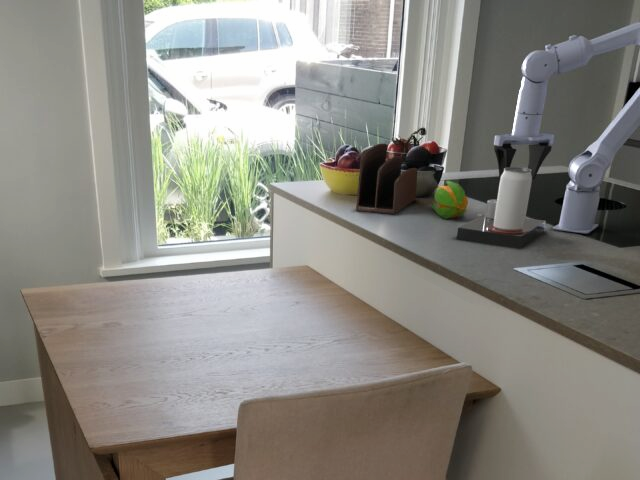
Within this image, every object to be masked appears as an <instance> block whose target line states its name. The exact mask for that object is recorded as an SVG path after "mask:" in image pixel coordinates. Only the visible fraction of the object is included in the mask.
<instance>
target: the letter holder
mask: <svg viewBox="0 0 640 480" xmlns="http://www.w3.org/2000/svg"><path fill="white" fill-rule="evenodd" d="M387 152H388V144H387V143H377V144H374V145H373V146H371V147H369V148H368V149H366V150H365V151H364V152H363V153H361V156H360V162H359V163H360V165H359V174H358V182H357V183H358V185H357V195H356V204H355V210H356V212H364V213H365V212H368V213H375V214H385V215H395V214H396V213H398V212H400V211H401V210H402V209H403V208H405V207H407V206H408V205H410V204H411V203H413V202H414V201H416V199H417V187H418V186H417V185H418V184H417V183H418V168H417V167H411V168H407V169H406V170H405V171H403V172H402V167H403V158H402V157H401V156H394V157H391V158H389V159H387V154H388V153H387Z"/></svg>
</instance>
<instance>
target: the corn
mask: <svg viewBox="0 0 640 480" xmlns="http://www.w3.org/2000/svg"><path fill="white" fill-rule="evenodd" d="M445 183H446V184H447V185H440V186H439V187H437V189H436V191H435V193H434V201H436V204H437V205H436V204H435V203H433V201H430V204H431V207H432V208H433V210H434V211H435V212H436V213H437V214H438V215H439V216H440V217H441V218H443V219H445V220H446V219H449V218H454V219H457V218H459V217H461V216H463V215H464V214H465V213H466V212H467V207H468V206H469V201H468V197H467V195H466V194H465V193H466V191H465V190H464V189H463V187H462V186H461V185H460V184H459V183H457V182H455V181H451V180H446V181H445Z"/></svg>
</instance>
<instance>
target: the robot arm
mask: <svg viewBox="0 0 640 480" xmlns="http://www.w3.org/2000/svg"><path fill="white" fill-rule="evenodd" d="M631 45H635V46H640V21H639V22H635V23H631V24H629V25H627V26H624V27H621V28H618V29H616V30H614V31H610V32H607V33H605V34H603V35H600V36H597V37H595V38H592V39H588V38H587V37H585V36H583V35H580V36H577V34H573V35H570V36H569V37H568V40H565V41H562V42H559V43H557V44H554V45H552V44H550V43H549V44H547V45H545V50H543V49H542V50H540V49H538V50H534V51H531V52H530V53H528V55H526V57H525V58H524V60H523V63H521V65H520V66H521V68H520V69H521V73H522V79H521V82H520V89H519V91H518V97H517V104H516V108H515V115H514V119H513V126H512V130H511V133H508V134H507V133H506V134H505V133H504V134H496V135H494V140H493V150H494V153H495V156H496V160H497V166H498V179H499V180H500V179H501V175H502V174H503V172H504V168H507V167H512V166H511V165H512V163H513V159H514V157H515V155H516V152H517V148H513V146H525V145H526V146H527V145H528V165H527V168H528V169H531V176H532V180H535V179H536V177H537V175H538V172H539V170H540V168H541V166H542V164H543V162H544V161H545V159H546V158H547V156H548V155H549V154H550V153H551V151H552V147H553V146H552V145H553V144H554V138H555V134H550V133H540V131H541V130H540V129H541V124H542V120H543V114H544V109H545V105H546V100H547V99H546V98H547V93H548V90H547V89H548V84H549V80H550V78H551V77H552V75H553V76H559V75H561V74H565V73H567V72H570V71H573V70H577V69H579V68H582V67H585V66H587V65H588V63H589V62H590V60H591V58H592V57H594V56H598V55H602V54H603V53H604V54H605V53H608V52H611V51H614V50H618V49H621V48H624V47H628V46H631ZM639 126H640V87H639V88H638V89H637V90H636V91H635V92H634V94H633V95H632V96H631V98H630V99H629V100H628V101H627V102H626V104H625V105H624V106H623V108H622V109H621V110H620V111H619V112H618V114H617V115H616V116H615V117H614V118H613V120H612V121H611V122H610V124H609V125H608V126H606V128H605V130H604V131H603V132H602V133H601V135H600V136H599V137H598V138H597V139H596V140H595V141H594V142H592V143H591V144H590V145H589V146H587V148H586V149H585V150H584V151H583V152H582V153H580V154H578V155H576V156H575V157H573V159H572V160H571V161H570V163H569V165H568V170H567V172H568V173H567V174H568V176H569V178H570V180H569V182H568V183H567V184H566V187H565V192H564V196H563V203H562V207H561V212H560V217H559V222H558V224H556V225H555V226H553V227H552V230H555V231H562V232H563V231H564V232H570V233H577V234H584V235H589V234H590V233H591V232H593V231H594V230H596V228H598V227H599V224H597V223H596V222H595V221H596V217H597V212H598V208H599V203H600V192H601V191H600V190H601V184H602V183H603V181H604V179H605V178H606V177H605V176H606V174H607V171H608V170H609V168H610V167H611V166H612V164H613V162H614V158H615V156H616V154H617V153H618V151H619V150H620V149H621V148H622V147H623V145H624V144H625V143H626V142H627V141H628V140H629V139H630V137H631V136H632V135H633V134H634V132H635V131H636V130H637V129H638V128H639Z"/></svg>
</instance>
